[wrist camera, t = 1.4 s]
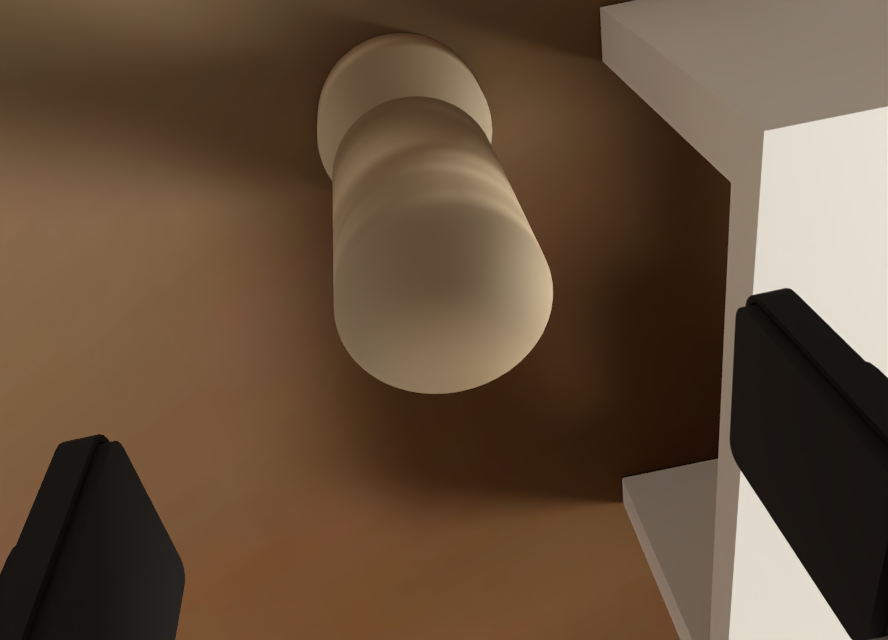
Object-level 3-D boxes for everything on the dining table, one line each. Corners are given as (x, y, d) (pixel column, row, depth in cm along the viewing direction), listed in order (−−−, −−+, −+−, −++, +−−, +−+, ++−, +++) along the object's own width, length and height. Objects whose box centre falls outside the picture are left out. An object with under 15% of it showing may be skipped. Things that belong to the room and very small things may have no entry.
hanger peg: (470, 17, 22) (563, 158, 13) (492, 177, 24) (582, 382, 16) (298, 51, 22) (278, 215, 13) (339, 208, 24) (345, 430, 16)
